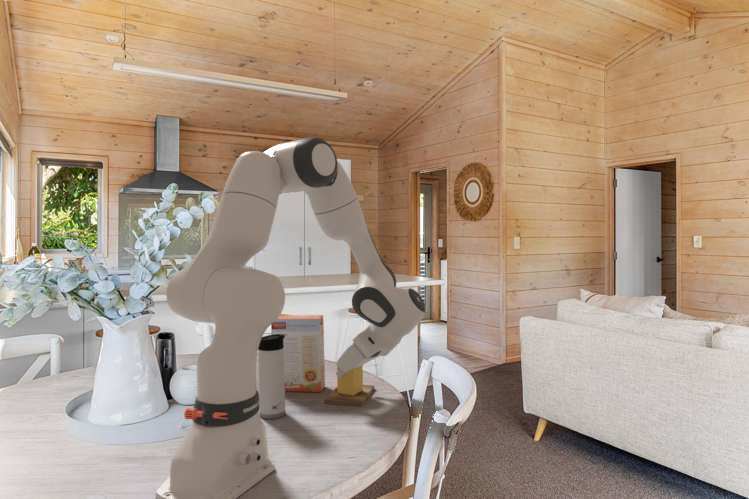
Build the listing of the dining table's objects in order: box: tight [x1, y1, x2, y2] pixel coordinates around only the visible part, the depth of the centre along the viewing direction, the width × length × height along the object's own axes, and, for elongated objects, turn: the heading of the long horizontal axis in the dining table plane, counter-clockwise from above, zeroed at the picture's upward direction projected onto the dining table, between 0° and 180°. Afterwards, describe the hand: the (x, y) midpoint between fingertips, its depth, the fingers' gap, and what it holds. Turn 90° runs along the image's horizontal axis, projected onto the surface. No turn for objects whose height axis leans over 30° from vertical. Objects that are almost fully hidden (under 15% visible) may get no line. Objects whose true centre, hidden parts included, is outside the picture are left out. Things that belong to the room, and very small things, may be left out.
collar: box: [336, 365, 364, 395], centre depth 142 cm, size 5×5×8 cm
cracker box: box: [270, 314, 326, 393], centre depth 148 cm, size 14×6×21 cm, turn 84°
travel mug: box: [257, 334, 286, 420], centre depth 129 cm, size 6×7×20 cm
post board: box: [324, 384, 375, 407], centre depth 142 cm, size 14×10×11 cm
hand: (347, 370), depth 142 cm, fingers open, 8 cm apart
